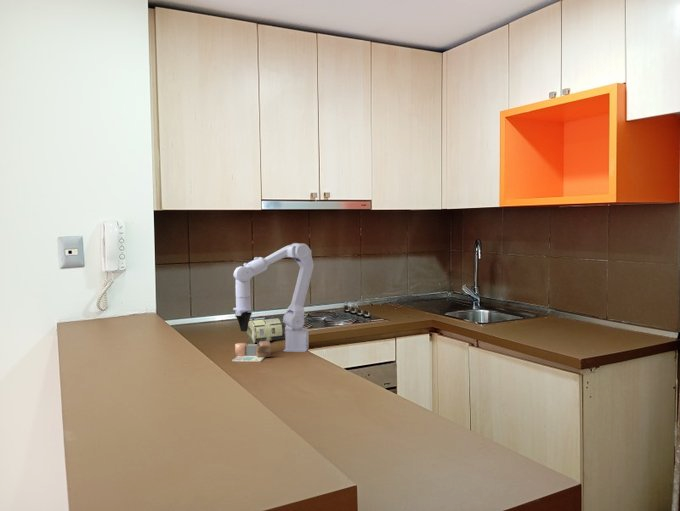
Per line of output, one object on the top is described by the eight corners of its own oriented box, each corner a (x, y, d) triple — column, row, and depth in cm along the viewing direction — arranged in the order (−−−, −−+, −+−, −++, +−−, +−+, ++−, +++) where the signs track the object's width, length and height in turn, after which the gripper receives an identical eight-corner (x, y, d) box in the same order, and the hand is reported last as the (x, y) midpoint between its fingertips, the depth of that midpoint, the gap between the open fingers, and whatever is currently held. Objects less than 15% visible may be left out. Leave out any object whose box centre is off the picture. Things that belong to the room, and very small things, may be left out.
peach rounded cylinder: (271, 351, 218) (271, 340, 218) (268, 354, 214) (268, 343, 214) (260, 351, 219) (260, 340, 219) (257, 354, 215) (257, 343, 214)
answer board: (269, 353, 218) (269, 351, 218) (260, 361, 204) (260, 360, 204) (243, 353, 220) (242, 351, 220) (232, 361, 206) (232, 359, 206)
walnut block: (268, 354, 213) (268, 344, 213) (270, 356, 210) (270, 346, 210) (256, 356, 211) (256, 346, 211) (258, 357, 209) (258, 347, 208)
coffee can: (246, 337, 242) (275, 334, 248) (253, 348, 233) (283, 345, 240) (247, 316, 239) (277, 313, 245) (254, 327, 230) (285, 324, 236)
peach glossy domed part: (247, 354, 215) (247, 342, 215) (244, 356, 211) (244, 345, 211) (237, 353, 216) (236, 342, 216) (233, 356, 212) (233, 345, 211)
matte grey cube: (259, 353, 216) (258, 343, 216) (256, 356, 212) (256, 345, 212) (249, 353, 216) (249, 343, 216) (246, 355, 212) (246, 345, 212)
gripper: (238, 294, 221) (239, 327, 222) (227, 299, 207) (228, 334, 207) (255, 294, 220) (256, 327, 221) (245, 299, 206) (246, 334, 207)
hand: (244, 331), depth 214 cm, fingers closed
